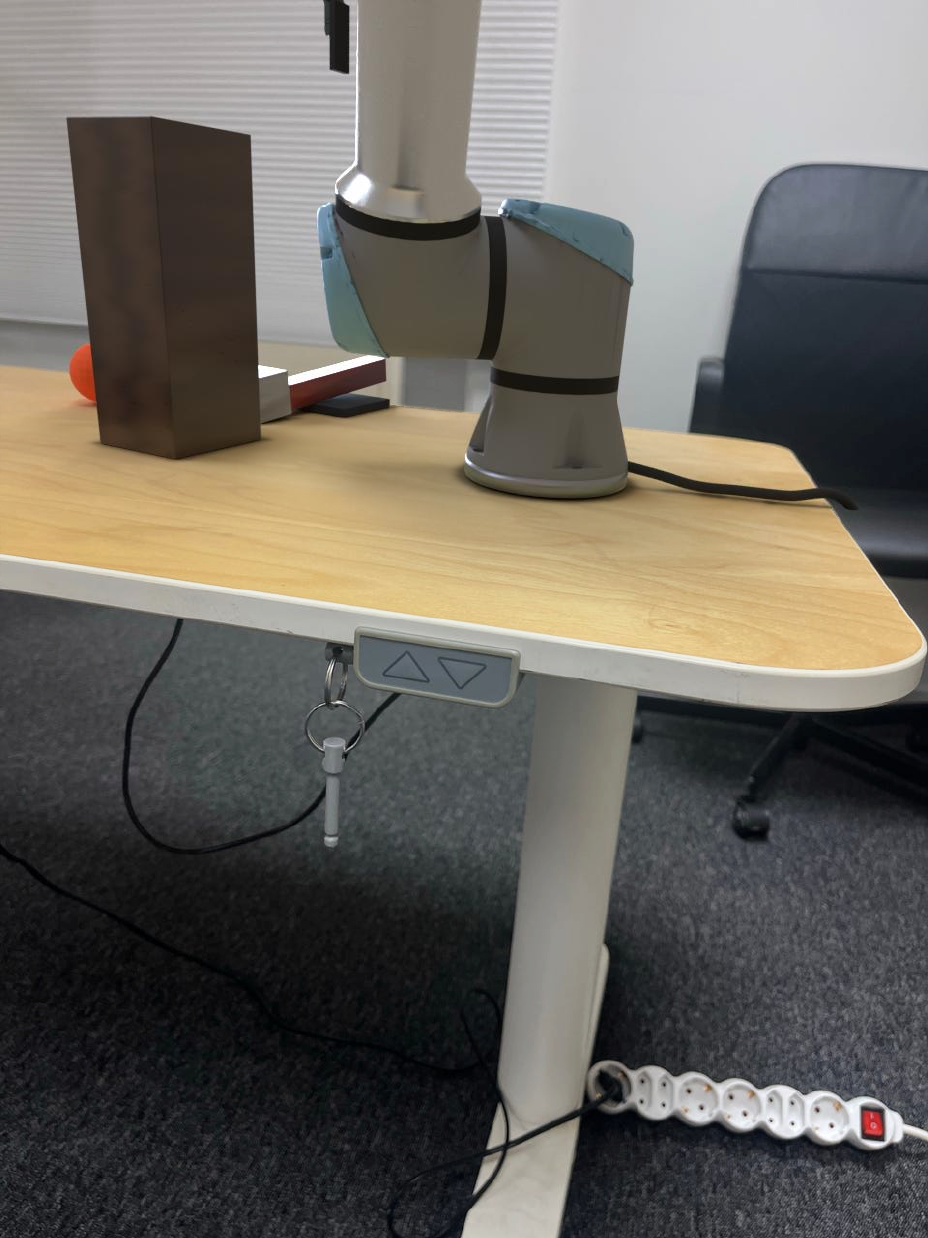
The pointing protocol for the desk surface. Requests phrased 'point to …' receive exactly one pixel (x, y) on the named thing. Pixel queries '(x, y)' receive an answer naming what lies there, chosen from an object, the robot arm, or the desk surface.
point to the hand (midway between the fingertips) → (390, 70)
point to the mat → (348, 405)
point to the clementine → (83, 372)
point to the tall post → (168, 281)
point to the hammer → (315, 385)
